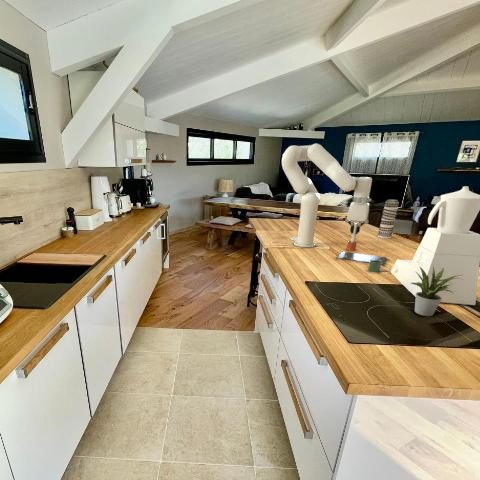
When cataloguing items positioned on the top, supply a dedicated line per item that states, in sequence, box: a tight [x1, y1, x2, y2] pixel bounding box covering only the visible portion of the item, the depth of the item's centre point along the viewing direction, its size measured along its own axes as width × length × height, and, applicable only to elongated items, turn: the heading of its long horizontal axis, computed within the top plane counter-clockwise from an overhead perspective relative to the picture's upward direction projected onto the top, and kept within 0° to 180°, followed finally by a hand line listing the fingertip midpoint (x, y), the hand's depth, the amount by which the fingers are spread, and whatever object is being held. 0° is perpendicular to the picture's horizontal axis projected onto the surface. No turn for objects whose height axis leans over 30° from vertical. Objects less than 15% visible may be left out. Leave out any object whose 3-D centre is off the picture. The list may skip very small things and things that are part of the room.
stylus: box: [350, 222, 359, 242], centre depth 182 cm, size 2×2×15 cm
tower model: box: [377, 199, 400, 239], centre depth 213 cm, size 9×9×25 cm
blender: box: [389, 185, 480, 306], centre depth 121 cm, size 33×18×40 cm, turn 166°
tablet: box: [336, 251, 387, 266], centre depth 166 cm, size 22×16×1 cm
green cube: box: [367, 260, 382, 273], centre depth 146 cm, size 5×5×5 cm
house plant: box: [410, 267, 463, 317], centre depth 102 cm, size 14×14×16 cm
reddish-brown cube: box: [346, 240, 358, 252], centre depth 184 cm, size 5×5×5 cm
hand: (354, 233), depth 181 cm, fingers closed on stylus, 2 cm apart
